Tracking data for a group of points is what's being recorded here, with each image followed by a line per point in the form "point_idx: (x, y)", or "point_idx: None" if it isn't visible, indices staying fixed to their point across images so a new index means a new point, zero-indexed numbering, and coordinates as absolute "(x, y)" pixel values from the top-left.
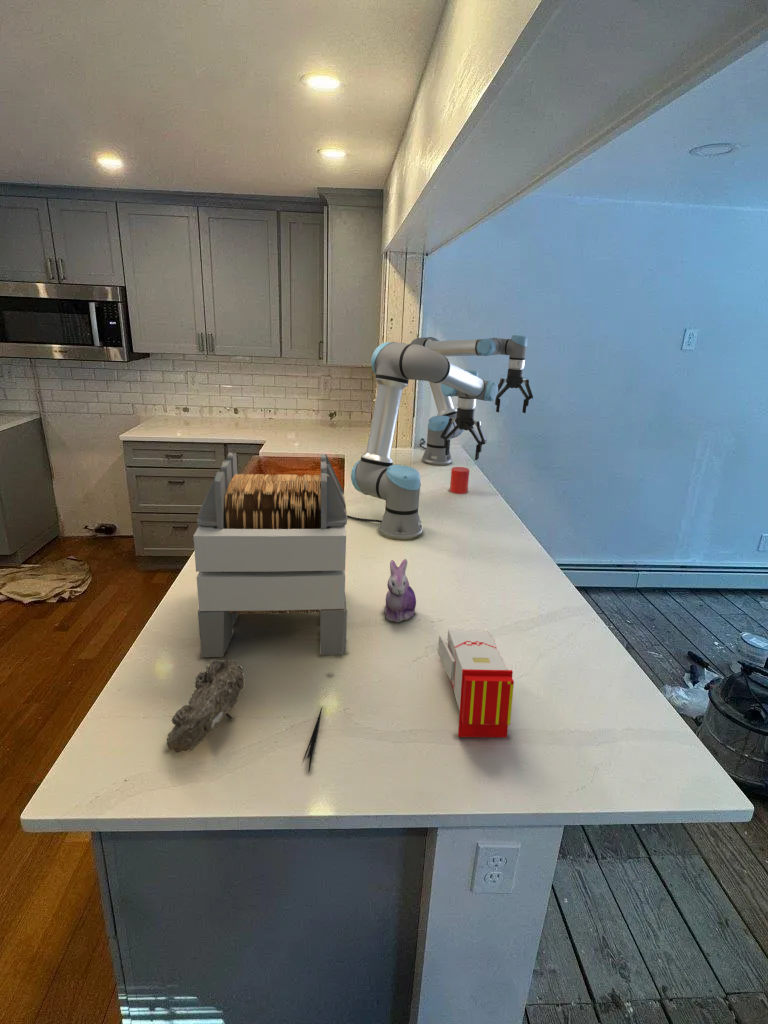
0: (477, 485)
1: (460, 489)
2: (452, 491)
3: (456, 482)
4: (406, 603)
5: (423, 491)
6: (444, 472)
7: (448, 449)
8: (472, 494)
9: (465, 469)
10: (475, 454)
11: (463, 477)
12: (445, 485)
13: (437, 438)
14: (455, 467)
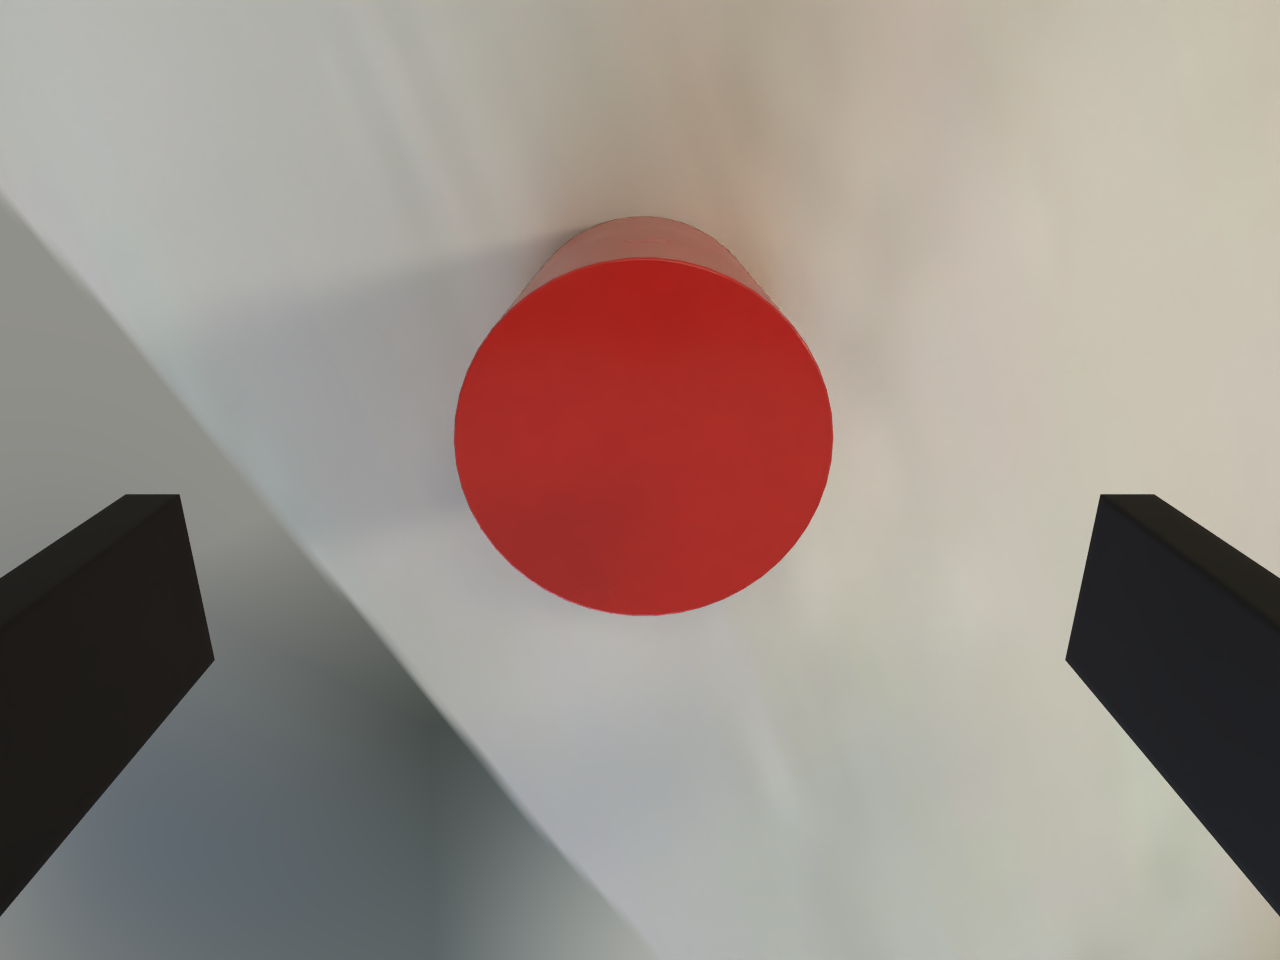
0: (530, 700)
1: (571, 242)
2: (693, 228)
3: (640, 234)
4: None
5: (1105, 4)
6: (1036, 925)
7: (1175, 681)
8: (425, 318)
9: (548, 490)
10: (73, 574)
11: (523, 291)
12: (882, 483)
13: None
14: (777, 509)
